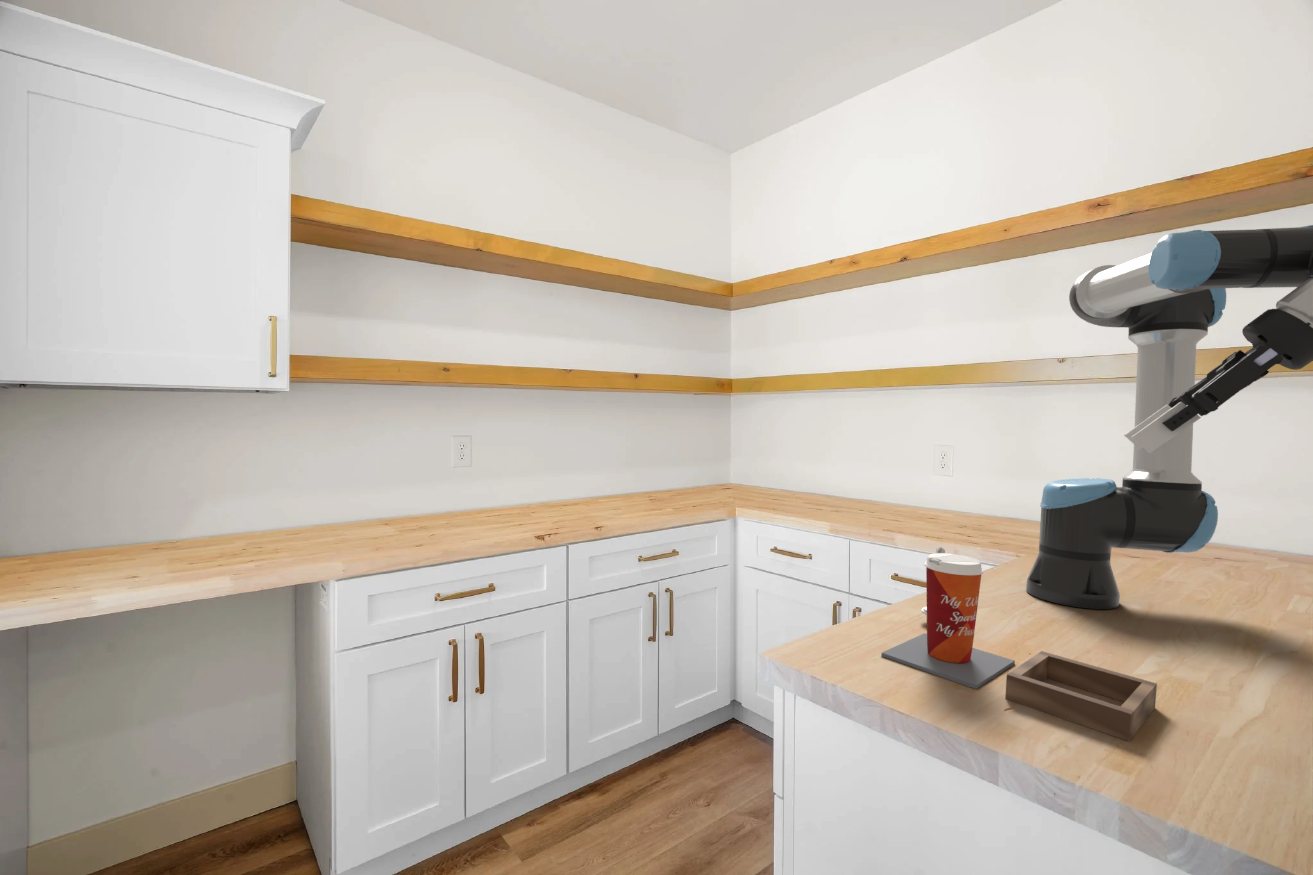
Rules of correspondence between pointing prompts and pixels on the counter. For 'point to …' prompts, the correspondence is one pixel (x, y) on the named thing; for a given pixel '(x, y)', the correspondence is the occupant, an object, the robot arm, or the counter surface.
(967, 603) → the paper cup
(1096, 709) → the cup holder
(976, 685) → the slate mat
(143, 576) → the counter surface
